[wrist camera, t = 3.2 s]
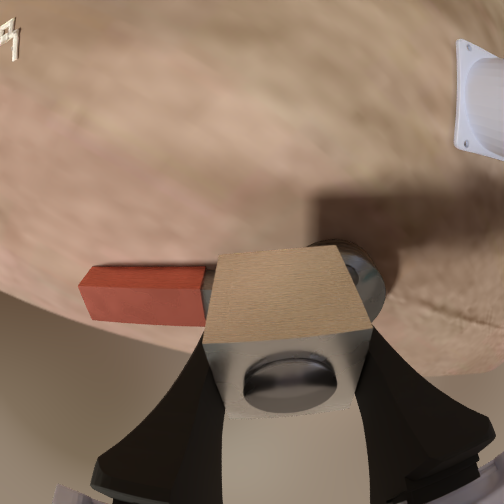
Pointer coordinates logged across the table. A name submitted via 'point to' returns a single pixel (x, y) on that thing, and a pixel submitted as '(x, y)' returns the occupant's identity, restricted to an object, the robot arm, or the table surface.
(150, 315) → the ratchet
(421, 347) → the table surface
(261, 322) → the cube block
